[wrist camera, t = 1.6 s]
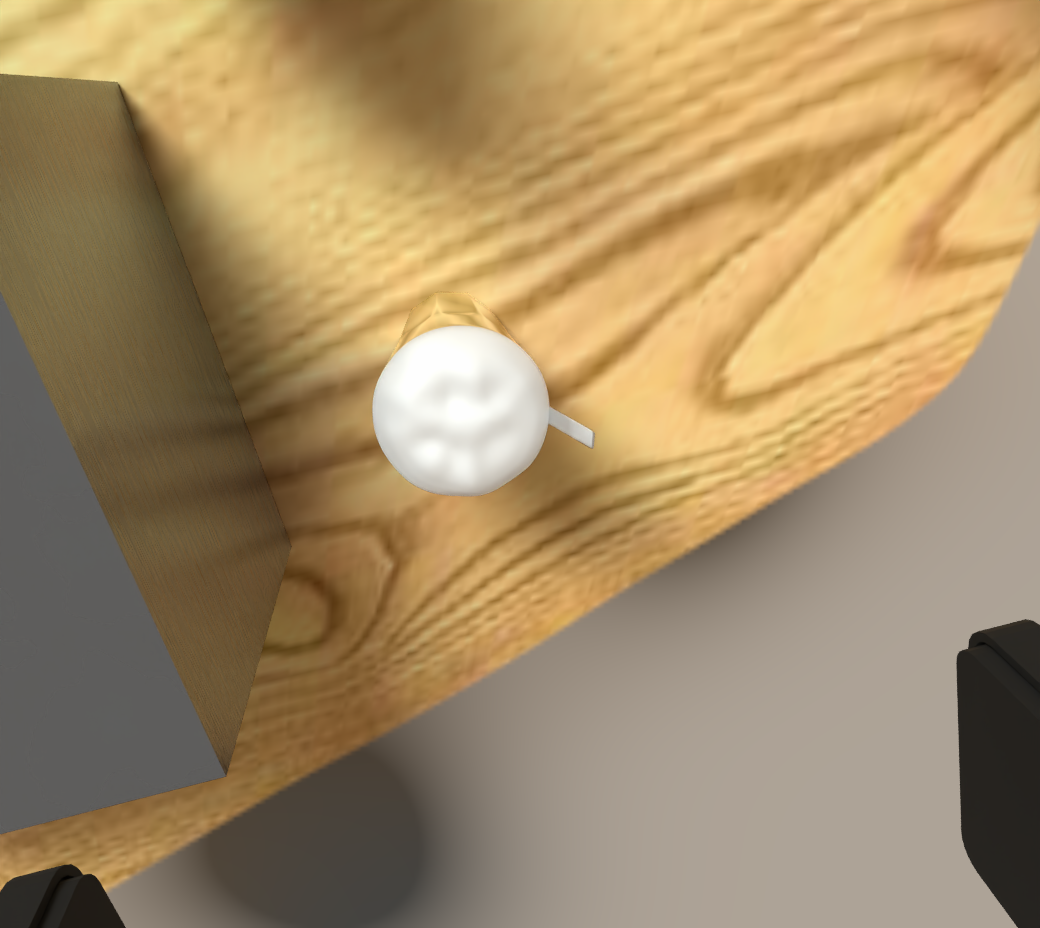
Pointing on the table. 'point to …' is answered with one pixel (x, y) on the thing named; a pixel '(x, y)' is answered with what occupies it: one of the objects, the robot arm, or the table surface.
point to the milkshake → (463, 401)
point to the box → (114, 478)
